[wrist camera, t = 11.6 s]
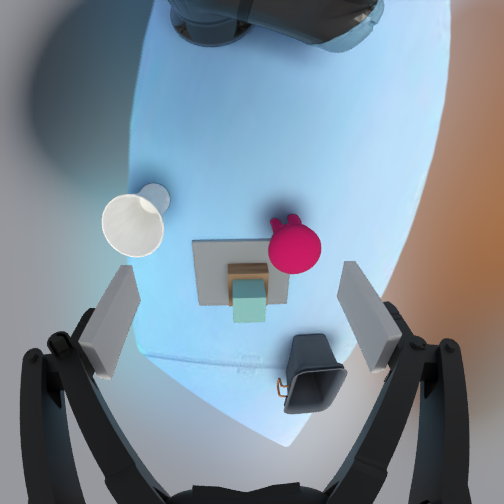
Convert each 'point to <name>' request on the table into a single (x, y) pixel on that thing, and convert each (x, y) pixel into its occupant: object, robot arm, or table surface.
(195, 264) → the build plate
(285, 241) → the toy
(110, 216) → the cup
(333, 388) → the storage bin
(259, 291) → the teal brick
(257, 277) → the walnut brick
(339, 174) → the table surface
